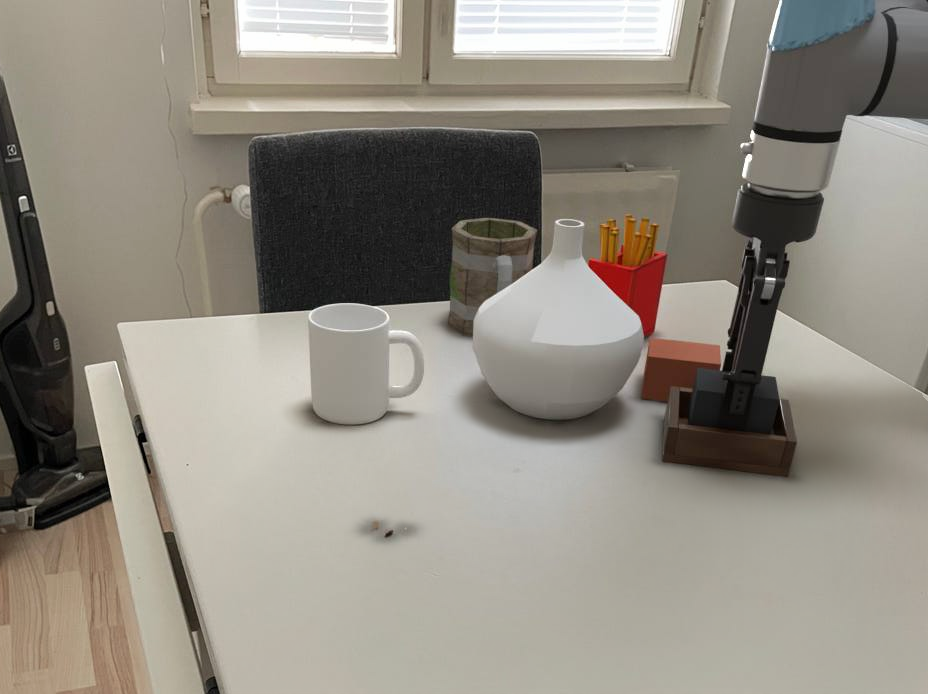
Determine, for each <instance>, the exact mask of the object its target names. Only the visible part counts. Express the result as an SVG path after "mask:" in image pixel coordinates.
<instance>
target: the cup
mask: <svg viewBox="0 0 928 694" xmlns="http://www.w3.org/2000/svg"><path fill="white" fill-rule="evenodd" d="M307 323H308V324H307V325H308V326H307V327H308V344H309V345H308V348H309V372H310V394H311V404H312V405H311V406H312V409H313V411H314V413H315V414H316V415H317V416H318V417H319V418H321V419H322V420H324V421H327V422H329V423H333V424H339V425H351V426H353V425H355V426H356V425H364V424H368V423H372V422H375V421H378V420H379V419H381V418H382V417H383V416H384V415H385V414H386V413H387V411H388V408H389V403H390V399H402V398H406V397H409V396H411V395H412V394H414V393H416V391H418V389H419V388H420V386H421V385H422V382H423V379H424V375H425V357H424V351H423V348H422V345H421V343H420V341H419V340H418V338H417V337H416V336H415V335H414V334H413V333H411V332H409V331H405V330H390V315H389V314H388V313H387V312H386V311H385V310H384V309H381V308H379V307H376V306H372V305H368V304H363V303H351V302H347V303H346V302H344V303H343V302H341V303H332V304H326V305H322V306H319V307H316V308H313V310H312V311H310V312H309V313H308V316H307ZM393 344H394V345H395V344H406V345H408V346H409V347H410V350H411V353H412V357H413V375H412V378H411V379H410V381H409V382H408V383H407V384H404V385H390V345H393Z"/></svg>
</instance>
